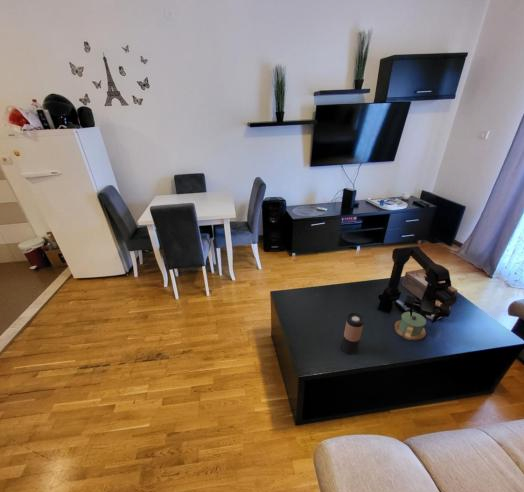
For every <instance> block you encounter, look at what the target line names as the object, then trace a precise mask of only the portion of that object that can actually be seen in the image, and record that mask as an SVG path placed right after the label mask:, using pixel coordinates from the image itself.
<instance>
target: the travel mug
mask: <svg viewBox="0 0 524 492" xmlns="http://www.w3.org/2000/svg"><path fill="white" fill-rule="evenodd" d="M364 323H365V317H364V315H362V314H360V313H357V312H350V313H348V315H347V317H346V322H345V328H344V332H343V337H342V343H341V349H342V351H343V352H344V353H347V354H350V355H352V354H353V355H354V354H355V353H356V352H357V351H358V347H359V344H360V340H361V337H362V333H363V327H364Z"/></svg>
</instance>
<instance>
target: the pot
mask: <svg viewBox="0 0 524 492" xmlns="http://www.w3.org/2000/svg"><path fill="white" fill-rule="evenodd" d="M400 320H401V321H400V324H399V328H400V329H401V331H403V332H404V333H405V336H404V338H403V339H406V340H408V341H410V340H409V339H410V336H411V335H412V336H417V335H420V334H421V333H422V330H423V328H424V327H425V326H426V324H427V319H426V318H425V317H424V316H423V315H422V314H421V313H417V312H415V311H413V313H412V317H410V311H405V312H403V313H402V314H401V317H400ZM424 329H425V328H424Z"/></svg>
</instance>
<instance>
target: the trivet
mask: <svg viewBox="0 0 524 492" xmlns="http://www.w3.org/2000/svg"><path fill="white" fill-rule="evenodd" d="M400 321H401V319H399V320H397V321H396V322H395V323H394V327H393V328H394V331H395V332H396V334H397V335H399V336H400V337H401V338H403V339H405V338H404V336H405V333H404V332H403V331H401V329H400V328H399V324H400ZM426 335H427V332H426V329H425V328H423V330H422V333H421V334H420V335H417V336H412V335H411V336H410V339H409V340H408V341H421V340H423V339H424V338H425V337H426Z"/></svg>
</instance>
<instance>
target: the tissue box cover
mask: <svg viewBox="0 0 524 492" xmlns="http://www.w3.org/2000/svg"><path fill="white" fill-rule="evenodd" d="M426 278H427V276H426V274H425V270H424V269H423V268H419V269H414V270H407V271H405V273H404V276H403V280H402V283H401V285H402V287H404V288H405V289H406V290H408V292H410V293H412V295H414V297H417V298H418V299H419V301H421V300H422V299H421V298H422V297H423V294H424V292H425V289H426V286H427V283H428V282H427V281H425V279H426ZM439 283H445V281H441V282H439ZM448 288H449V289H450V290H451V291H453V292H455V296H456V294H457V292H458V289H457V288H456V287H454V286H453V285H451V287H448ZM436 301H438V300H436Z"/></svg>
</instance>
